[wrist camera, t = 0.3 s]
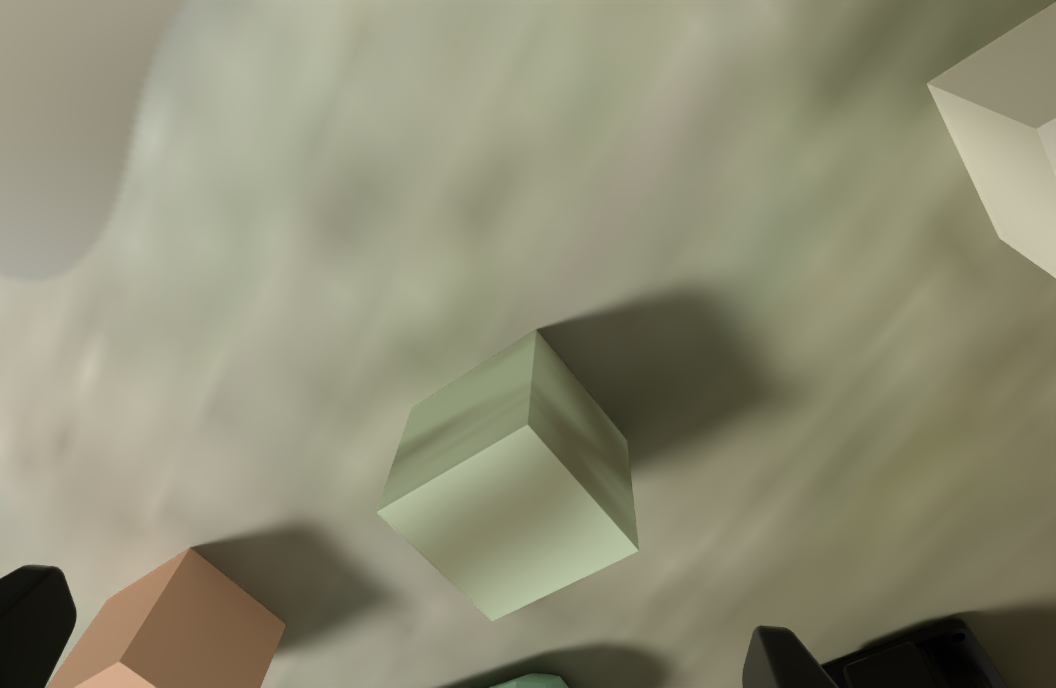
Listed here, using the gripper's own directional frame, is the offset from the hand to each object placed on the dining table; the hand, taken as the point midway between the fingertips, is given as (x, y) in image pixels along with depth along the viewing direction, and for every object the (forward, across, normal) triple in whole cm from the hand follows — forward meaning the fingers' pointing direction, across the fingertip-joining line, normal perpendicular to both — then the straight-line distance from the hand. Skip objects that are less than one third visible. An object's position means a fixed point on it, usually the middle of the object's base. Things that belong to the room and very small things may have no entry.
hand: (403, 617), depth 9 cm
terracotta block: (+13, +12, +16) cm, 24 cm away
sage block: (+13, -1, +6) cm, 14 cm away
